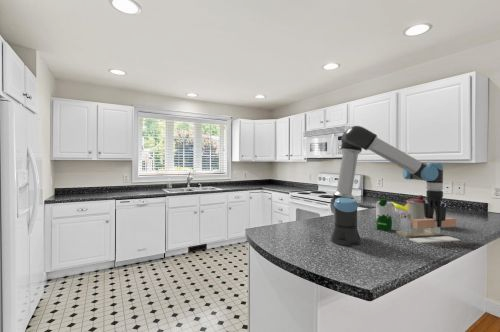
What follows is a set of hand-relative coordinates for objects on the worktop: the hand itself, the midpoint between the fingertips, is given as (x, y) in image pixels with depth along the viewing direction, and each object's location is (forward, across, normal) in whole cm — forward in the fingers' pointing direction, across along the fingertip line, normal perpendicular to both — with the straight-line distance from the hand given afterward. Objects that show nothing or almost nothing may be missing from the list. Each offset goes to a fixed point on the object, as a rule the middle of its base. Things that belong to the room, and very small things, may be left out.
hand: (434, 231), depth 142 cm
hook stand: (+5, +13, -2) cm, 14 cm away
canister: (+5, +35, -27) cm, 44 cm away
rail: (-3, 0, 0) cm, 3 cm away
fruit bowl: (+5, +63, -46) cm, 78 cm away
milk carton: (+5, +27, +10) cm, 29 cm away
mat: (+5, 0, 0) cm, 5 cm away
